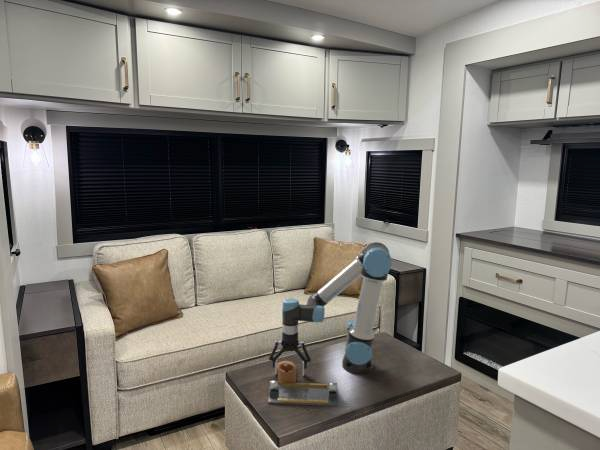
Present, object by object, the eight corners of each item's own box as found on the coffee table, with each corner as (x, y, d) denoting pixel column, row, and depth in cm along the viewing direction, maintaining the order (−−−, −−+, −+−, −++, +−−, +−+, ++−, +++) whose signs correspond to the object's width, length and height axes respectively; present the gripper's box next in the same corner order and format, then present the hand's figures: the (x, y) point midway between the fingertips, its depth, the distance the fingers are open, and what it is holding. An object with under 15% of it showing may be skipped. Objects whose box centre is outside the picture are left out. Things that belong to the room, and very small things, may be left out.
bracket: (297, 385, 185) (297, 371, 184) (278, 386, 184) (278, 372, 183) (293, 365, 203) (293, 352, 201) (276, 366, 202) (276, 353, 201)
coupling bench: (336, 388, 183) (336, 375, 182) (337, 406, 170) (337, 392, 169) (271, 386, 184) (271, 373, 183) (268, 403, 171) (268, 389, 170)
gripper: (316, 329, 194) (315, 370, 197) (265, 327, 195) (265, 368, 198) (316, 336, 186) (315, 379, 190) (263, 334, 187) (263, 377, 191)
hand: (289, 374), depth 194 cm, fingers open, 12 cm apart
